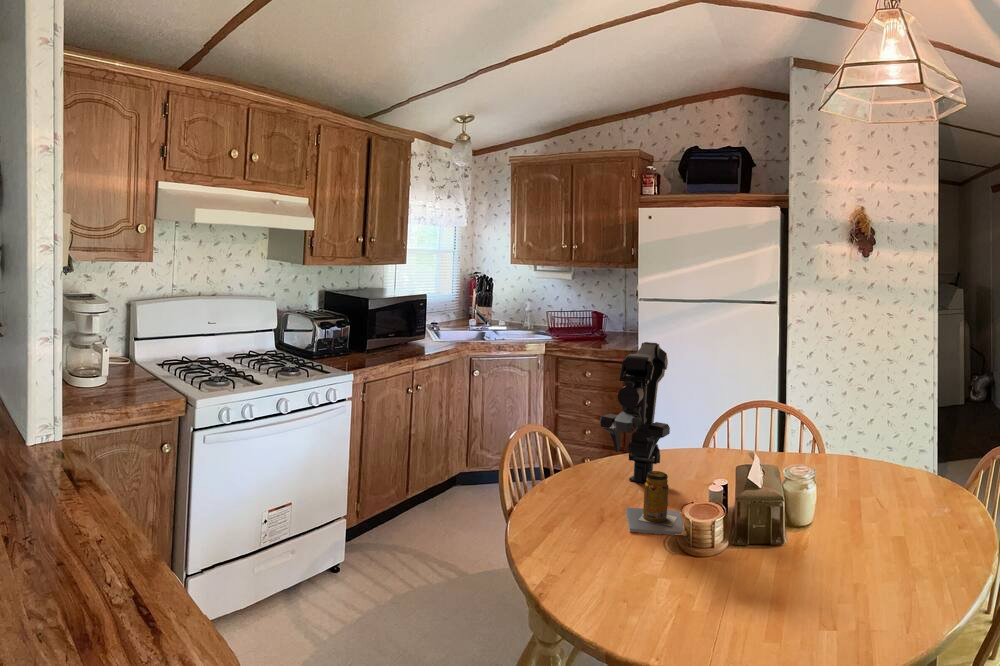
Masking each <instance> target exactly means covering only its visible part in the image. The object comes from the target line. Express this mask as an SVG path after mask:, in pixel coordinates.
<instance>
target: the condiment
mask: <svg viewBox="0 0 1000 666" xmlns="http://www.w3.org/2000/svg"><path fill="white" fill-rule="evenodd" d="M668 477H669V476H668V474H667V473H666V472H663V471H660V470H659V471H658V470H653V471H650V472H648V473H647V479H646V480H647V482H646V483H645V484H644V490H643V491H644V494H643V507H642V508H643V515H642V516H641V517H640V518H639V519H638V520H641V521H645V522H650V523H655V524H656V523H657V524H662V525H668V526H672V525H673V524H674V522H675V520H676V519H677V517H675V516H670V515H667V510H668V503H669V502H668V500H669V488H670V487H669V484H668V482H669V480H668Z"/></svg>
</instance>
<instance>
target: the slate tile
mask: <svg viewBox="0 0 1000 666" xmlns="http://www.w3.org/2000/svg"><path fill="white" fill-rule="evenodd" d="M625 514H626V520H627V524H628V525H629V526H628V531H629V530H630V531H629V533H633V532H639V533H638V534H647V533H654V534H653V535H661V534H669V535H668V536H675V534H681V533H682V531H683V523H684V520H683V518H682V515H681V513H680V511H679V510H669V509H667V515H670V516H675V517H677V519H676V520H675V522H674V524H673V525H672V526H668V525H662V524H657V523H656V524H655V523H650V522H645V521H641V520H638V519H639V518H640V517H641V516H642V515H643V507H642V508H641V507H629V506H628V507H625Z"/></svg>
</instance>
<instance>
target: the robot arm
mask: <svg viewBox="0 0 1000 666" xmlns="http://www.w3.org/2000/svg"><path fill="white" fill-rule="evenodd" d="M668 361H669V360H668V353H667V352H666V351H665V350H663V349H662V348H661V347H660V344H659V343H657V342H648V341H644V342H641V346H640V348H639V349H638V350H637V351H636V353H630V354H627V355H626V357H625V358H623V361H622V365H621V366H622V367H621V370H620V375H619V382H624V386H623V387H622V388H620V390H619V391H618V393H617V401H618V403H619V405H620V406H622V409H621V412H619V414H613V413H608V414H605V415H603V416H601V417H600V419H599V426H600V427H602V428H603V430H604V431H607V432H608V434H609V435H610V437H611V440H612V443H613V446H614V449H615V452H616V453H619V452H620V449H621V438H622V437H621V436H622V432H625V433H626V434H631V433H632V432H633V433H632V434H631V440H629V442H628V461H633V463H634V464H633V475H632V476H630V477H629V478H628V481H632V482H636V483H641V484H644V485H645V483H646V482H647V480H646V479H647V473H648V472H650V471H654V465H657V464H660V463H661V451H660V448H659V444H658V442H659V441H660V439H663V438H665V437H667V436H668V435H670V434H671V433H670V431H671V427H670V425H669V424H668V423H665V422H664V423H663V422H658V421H656V422H654V421H655V414H656V405H657V397H658V395H657V394H658V388H659V383H660V382H661V380H662V379H663V378H664V377H665V372H666V370H668V364H669V363H668ZM634 430H635V431H634Z"/></svg>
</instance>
